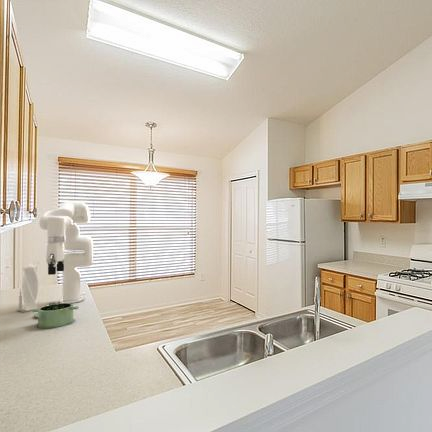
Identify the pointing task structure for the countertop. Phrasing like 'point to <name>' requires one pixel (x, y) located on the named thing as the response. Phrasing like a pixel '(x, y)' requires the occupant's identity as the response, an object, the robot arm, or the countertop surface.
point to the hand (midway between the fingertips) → (56, 272)
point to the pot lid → (49, 304)
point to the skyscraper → (29, 288)
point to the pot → (55, 315)
